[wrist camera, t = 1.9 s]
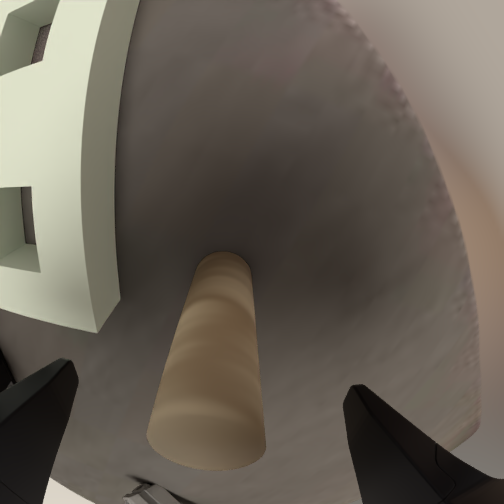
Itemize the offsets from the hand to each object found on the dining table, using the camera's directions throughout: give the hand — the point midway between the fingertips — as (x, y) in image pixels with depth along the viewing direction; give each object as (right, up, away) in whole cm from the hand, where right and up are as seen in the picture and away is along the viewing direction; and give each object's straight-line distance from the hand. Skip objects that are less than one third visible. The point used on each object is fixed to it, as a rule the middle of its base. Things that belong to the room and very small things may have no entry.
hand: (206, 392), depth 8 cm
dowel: (0, +3, +7) cm, 8 cm away
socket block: (-10, +11, +4) cm, 16 cm away
